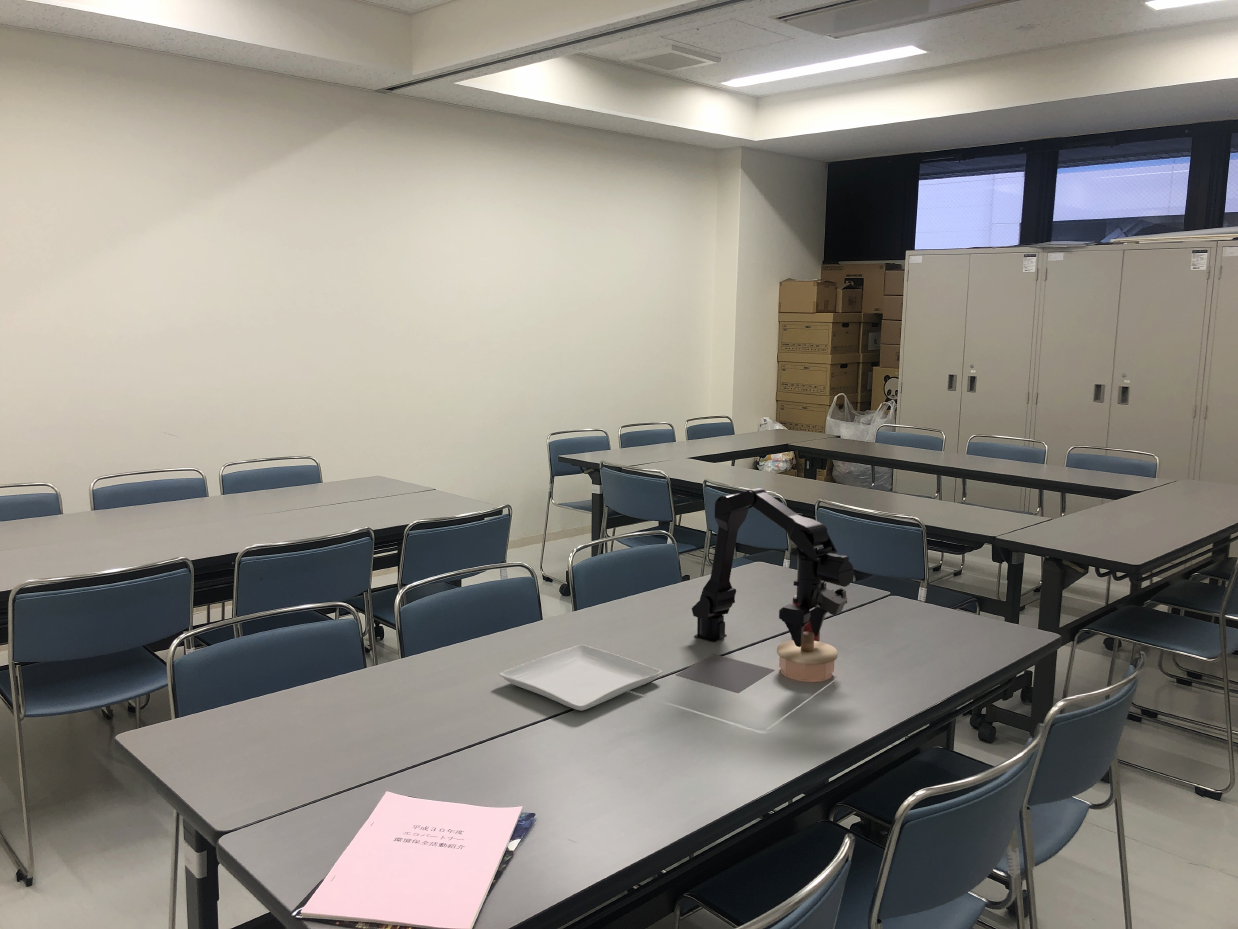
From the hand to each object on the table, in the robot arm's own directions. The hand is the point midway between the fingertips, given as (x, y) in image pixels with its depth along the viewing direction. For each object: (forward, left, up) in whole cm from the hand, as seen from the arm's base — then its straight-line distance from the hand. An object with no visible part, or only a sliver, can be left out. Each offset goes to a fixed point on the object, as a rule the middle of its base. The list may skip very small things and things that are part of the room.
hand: (807, 641), depth 210 cm
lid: (0, 0, -3) cm, 3 cm away
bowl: (0, 0, -8) cm, 8 cm away
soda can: (-10, +20, -8) cm, 24 cm away
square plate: (-38, -38, -9) cm, 54 cm away
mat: (-15, -12, -8) cm, 21 cm away
